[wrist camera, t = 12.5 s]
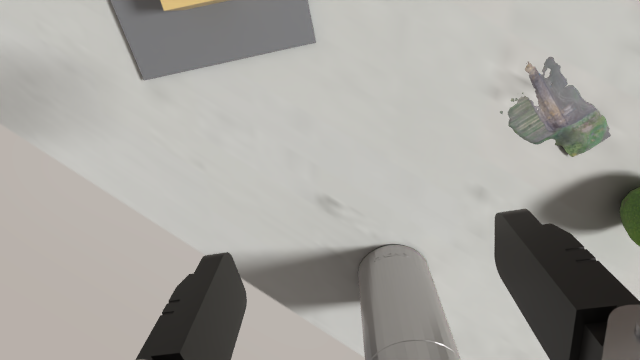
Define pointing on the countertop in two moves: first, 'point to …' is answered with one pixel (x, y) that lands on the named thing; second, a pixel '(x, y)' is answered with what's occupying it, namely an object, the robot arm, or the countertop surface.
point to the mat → (210, 32)
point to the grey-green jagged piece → (557, 114)
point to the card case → (186, 4)
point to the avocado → (631, 214)
